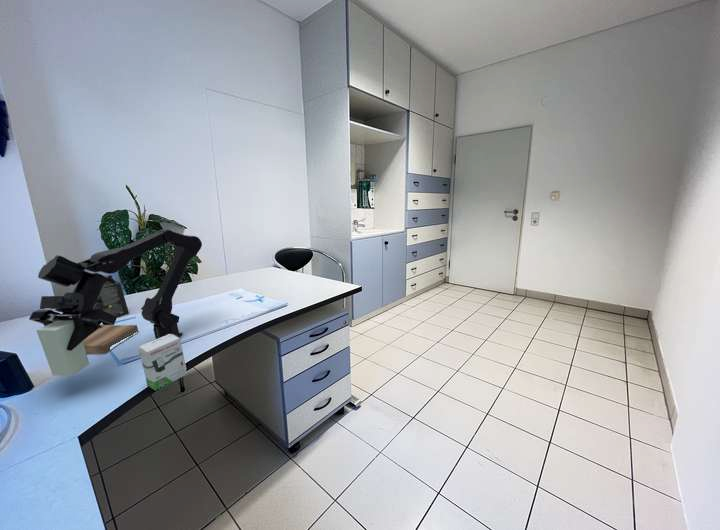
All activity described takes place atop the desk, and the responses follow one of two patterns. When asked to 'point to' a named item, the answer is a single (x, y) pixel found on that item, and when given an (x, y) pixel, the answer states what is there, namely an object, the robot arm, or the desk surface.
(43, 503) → the desk surface
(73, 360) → the sage block
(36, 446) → the desk surface
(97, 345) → the walnut base board
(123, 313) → the tampon box
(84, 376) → the desk surface
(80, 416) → the desk surface
